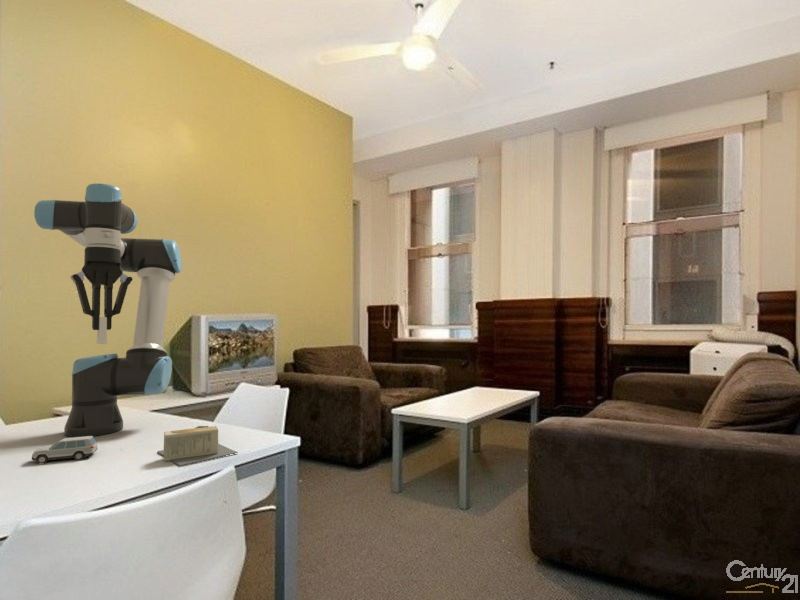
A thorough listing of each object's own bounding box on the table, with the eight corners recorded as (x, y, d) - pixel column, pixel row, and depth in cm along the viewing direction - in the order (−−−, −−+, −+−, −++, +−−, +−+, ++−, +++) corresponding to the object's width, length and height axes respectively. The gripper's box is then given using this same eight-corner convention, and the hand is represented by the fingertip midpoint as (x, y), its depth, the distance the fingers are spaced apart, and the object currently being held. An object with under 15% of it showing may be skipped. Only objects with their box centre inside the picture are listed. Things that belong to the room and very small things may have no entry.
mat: (157, 452, 119) (157, 451, 119) (211, 442, 129) (211, 440, 129) (180, 466, 108) (180, 465, 108) (237, 453, 118) (237, 452, 118)
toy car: (37, 459, 116) (38, 438, 116) (98, 453, 120) (98, 433, 120) (28, 466, 110) (29, 444, 110) (92, 459, 115) (92, 439, 115)
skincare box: (163, 456, 115) (216, 450, 121) (163, 461, 111) (218, 455, 117) (164, 429, 115) (216, 425, 121) (164, 434, 111) (219, 429, 117)
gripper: (74, 243, 108) (72, 345, 107) (136, 248, 117) (135, 342, 116) (68, 246, 113) (66, 344, 112) (128, 251, 122) (127, 341, 121)
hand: (101, 343), depth 114 cm, fingers closed
